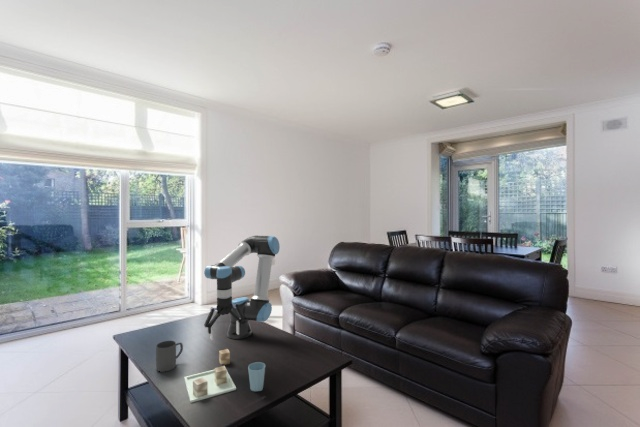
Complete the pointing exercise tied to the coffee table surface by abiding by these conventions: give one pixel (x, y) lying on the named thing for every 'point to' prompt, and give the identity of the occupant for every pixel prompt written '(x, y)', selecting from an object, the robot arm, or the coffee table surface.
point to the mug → (167, 355)
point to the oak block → (224, 356)
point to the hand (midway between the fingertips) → (224, 336)
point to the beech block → (220, 375)
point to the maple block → (200, 387)
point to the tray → (212, 386)
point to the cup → (256, 375)
